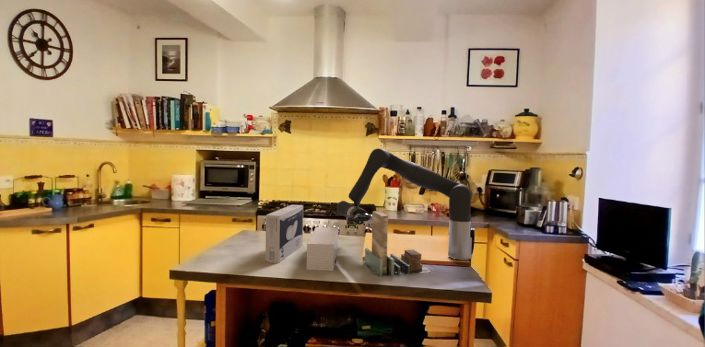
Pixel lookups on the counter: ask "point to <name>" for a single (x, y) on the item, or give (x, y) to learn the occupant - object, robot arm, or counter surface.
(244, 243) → the counter surface
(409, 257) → the offcut stack
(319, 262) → the stack of papers
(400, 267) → the rack
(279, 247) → the packaging
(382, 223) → the birch panel
